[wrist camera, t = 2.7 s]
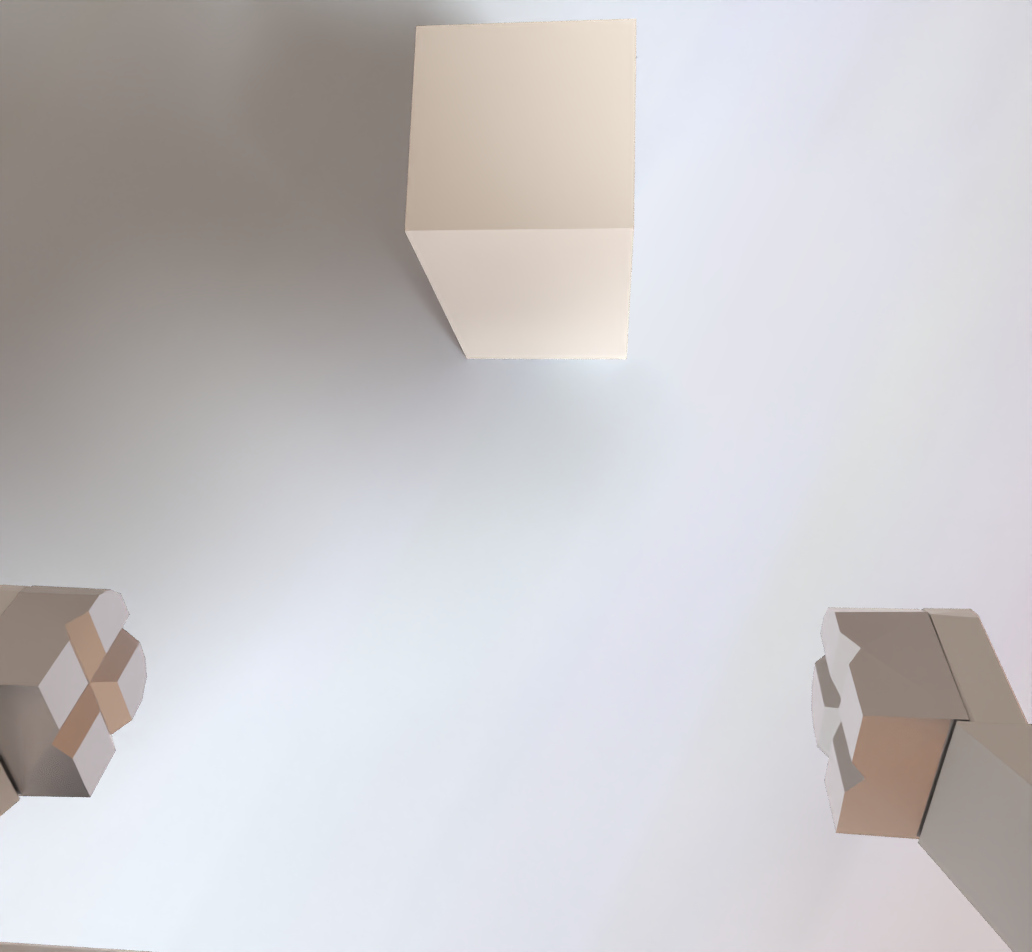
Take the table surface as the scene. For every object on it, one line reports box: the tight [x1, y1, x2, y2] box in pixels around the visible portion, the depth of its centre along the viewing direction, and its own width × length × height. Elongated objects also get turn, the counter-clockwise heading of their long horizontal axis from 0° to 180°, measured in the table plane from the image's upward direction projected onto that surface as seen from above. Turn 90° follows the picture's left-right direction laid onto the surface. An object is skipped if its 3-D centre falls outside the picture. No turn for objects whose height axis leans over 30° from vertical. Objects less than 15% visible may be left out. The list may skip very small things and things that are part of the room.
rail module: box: [405, 19, 636, 359], centre depth 21 cm, size 4×5×8 cm
